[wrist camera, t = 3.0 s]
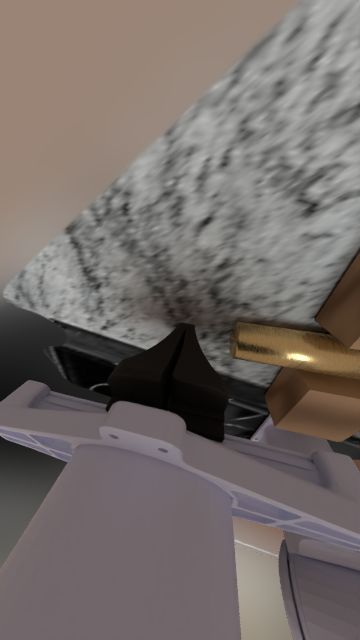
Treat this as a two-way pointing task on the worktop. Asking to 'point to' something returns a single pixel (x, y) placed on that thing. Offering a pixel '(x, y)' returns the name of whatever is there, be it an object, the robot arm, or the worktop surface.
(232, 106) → the worktop surface
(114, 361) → the worktop surface
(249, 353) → the axle
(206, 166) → the worktop surface
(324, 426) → the beam
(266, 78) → the worktop surface
